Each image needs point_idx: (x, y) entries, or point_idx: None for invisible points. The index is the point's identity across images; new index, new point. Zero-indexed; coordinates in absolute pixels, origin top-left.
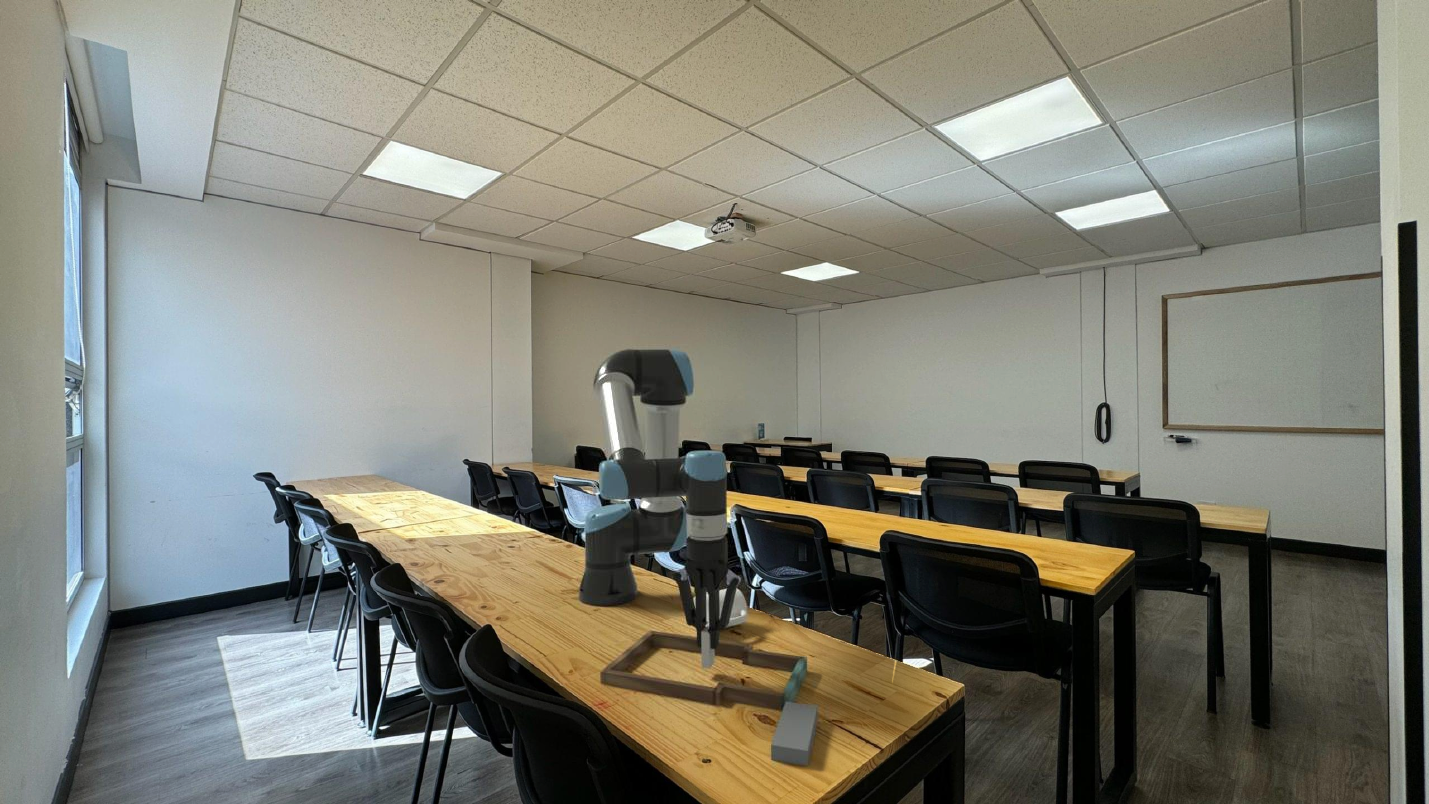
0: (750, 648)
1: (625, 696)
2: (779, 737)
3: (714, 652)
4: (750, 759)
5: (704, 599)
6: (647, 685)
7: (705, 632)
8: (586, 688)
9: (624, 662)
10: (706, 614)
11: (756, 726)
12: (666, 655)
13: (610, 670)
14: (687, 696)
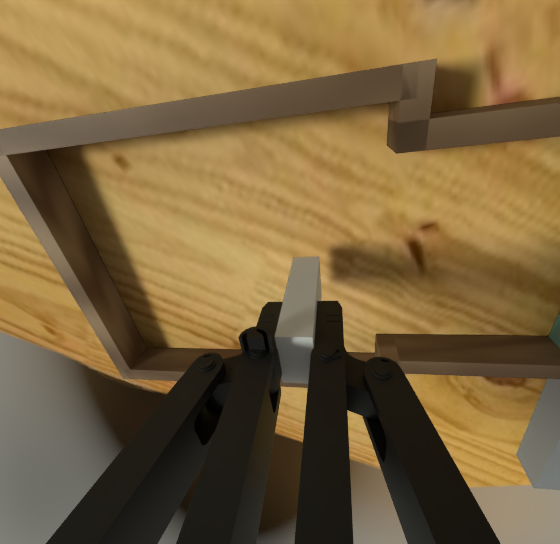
0: (430, 110)
1: None
2: (552, 477)
3: (317, 273)
4: (479, 451)
5: (246, 518)
6: None
7: (301, 382)
8: None
9: (110, 313)
10: (265, 390)
11: (482, 394)
12: (132, 193)
13: (134, 372)
14: None
